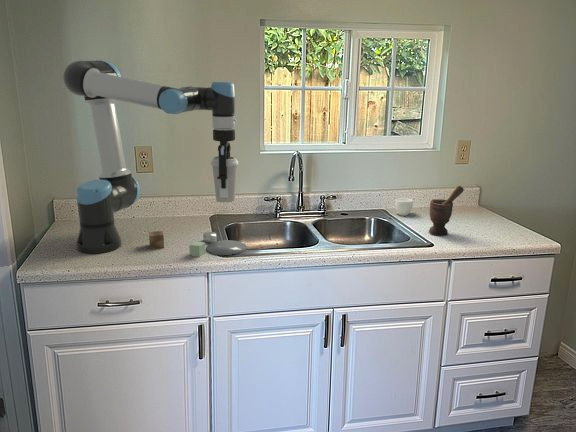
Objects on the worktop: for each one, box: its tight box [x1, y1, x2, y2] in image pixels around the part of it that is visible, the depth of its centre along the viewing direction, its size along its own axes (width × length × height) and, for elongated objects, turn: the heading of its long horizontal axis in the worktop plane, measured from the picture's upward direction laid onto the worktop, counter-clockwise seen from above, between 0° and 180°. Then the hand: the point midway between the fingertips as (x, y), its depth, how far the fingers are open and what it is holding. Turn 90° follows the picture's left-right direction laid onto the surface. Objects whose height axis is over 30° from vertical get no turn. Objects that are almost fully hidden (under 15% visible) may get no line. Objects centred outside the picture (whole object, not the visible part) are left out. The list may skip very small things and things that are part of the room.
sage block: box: [188, 240, 207, 258], centre depth 185 cm, size 4×4×4 cm
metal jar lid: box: [202, 231, 218, 245], centre depth 199 cm, size 5×5×3 cm
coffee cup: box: [210, 155, 240, 203], centre depth 184 cm, size 10×10×15 cm
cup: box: [394, 197, 414, 217], centre depth 237 cm, size 8×10×7 cm
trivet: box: [206, 239, 247, 256], centre depth 191 cm, size 14×14×1 cm
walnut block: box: [148, 230, 165, 250], centre depth 193 cm, size 5×5×5 cm
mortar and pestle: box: [428, 185, 465, 237], centre depth 209 cm, size 12×9×20 cm
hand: (225, 194), depth 186 cm, fingers closed on coffee cup, 8 cm apart
